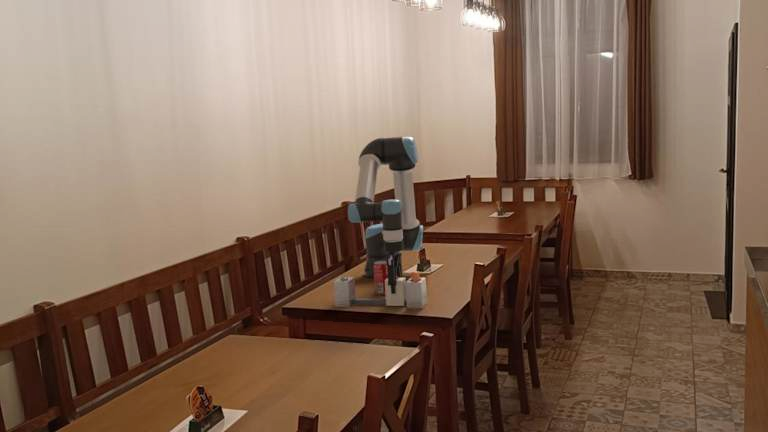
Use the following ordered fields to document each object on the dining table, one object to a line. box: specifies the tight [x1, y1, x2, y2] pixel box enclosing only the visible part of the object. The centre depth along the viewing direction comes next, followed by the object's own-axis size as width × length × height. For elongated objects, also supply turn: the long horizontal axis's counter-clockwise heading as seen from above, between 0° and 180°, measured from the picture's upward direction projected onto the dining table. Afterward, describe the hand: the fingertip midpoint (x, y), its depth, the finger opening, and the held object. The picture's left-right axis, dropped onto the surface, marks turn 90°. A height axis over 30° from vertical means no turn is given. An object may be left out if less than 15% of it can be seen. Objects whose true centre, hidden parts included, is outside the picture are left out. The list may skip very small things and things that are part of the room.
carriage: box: [385, 276, 407, 307], centre depth 269 cm, size 5×7×11 cm
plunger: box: [411, 270, 421, 281], centre depth 266 cm, size 3×3×6 cm
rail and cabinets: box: [332, 276, 428, 309], centre depth 271 cm, size 8×35×11 cm, turn 74°
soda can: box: [373, 261, 388, 295], centre depth 289 cm, size 7×7×13 cm
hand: (396, 299), depth 269 cm, fingers closed on carriage, 5 cm apart
